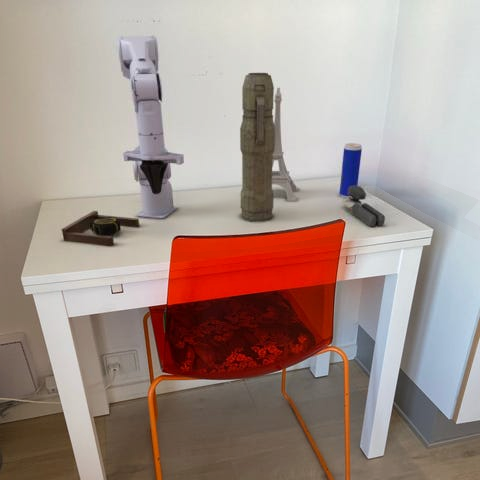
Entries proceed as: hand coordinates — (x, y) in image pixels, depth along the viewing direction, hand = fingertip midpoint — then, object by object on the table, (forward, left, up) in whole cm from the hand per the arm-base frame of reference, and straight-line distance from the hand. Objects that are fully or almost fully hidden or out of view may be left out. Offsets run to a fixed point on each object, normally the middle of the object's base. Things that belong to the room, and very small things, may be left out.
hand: (156, 192), depth 114 cm
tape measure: (+4, -14, -11) cm, 18 cm away
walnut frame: (+4, -14, -10) cm, 18 cm away
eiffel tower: (-41, +20, -11) cm, 47 cm away
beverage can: (-45, +42, -11) cm, 62 cm away
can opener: (-27, +47, -11) cm, 56 cm away
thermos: (-19, +20, -11) cm, 30 cm away
